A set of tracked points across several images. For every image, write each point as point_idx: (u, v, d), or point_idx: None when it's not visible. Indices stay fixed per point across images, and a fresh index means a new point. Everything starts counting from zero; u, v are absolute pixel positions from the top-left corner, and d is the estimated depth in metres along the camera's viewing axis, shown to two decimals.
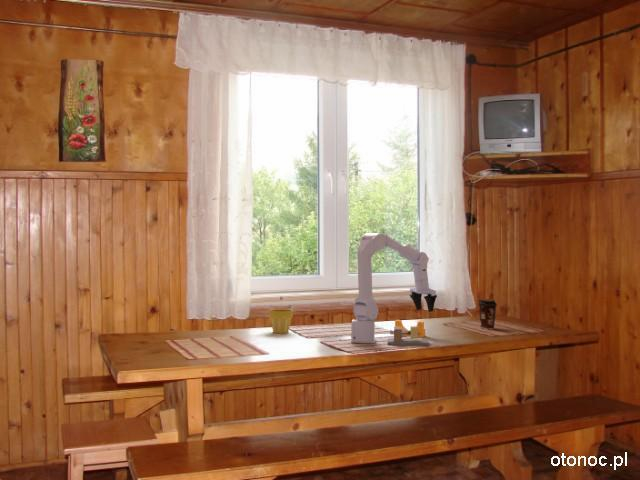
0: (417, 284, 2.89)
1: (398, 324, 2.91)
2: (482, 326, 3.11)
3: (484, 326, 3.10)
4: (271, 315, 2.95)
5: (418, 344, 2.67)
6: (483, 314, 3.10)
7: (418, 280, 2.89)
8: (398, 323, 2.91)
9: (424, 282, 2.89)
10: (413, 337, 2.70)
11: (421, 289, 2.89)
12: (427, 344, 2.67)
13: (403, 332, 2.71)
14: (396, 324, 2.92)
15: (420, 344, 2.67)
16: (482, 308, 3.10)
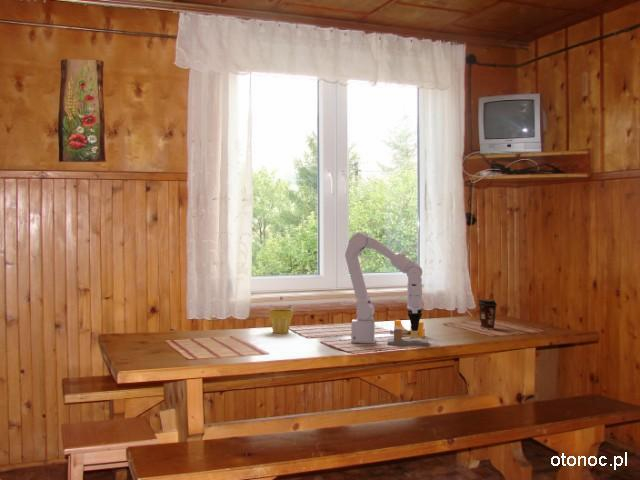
0: (407, 299, 2.71)
1: (397, 324, 2.91)
2: (482, 326, 3.11)
3: (484, 326, 3.10)
4: (271, 315, 2.95)
5: (418, 344, 2.67)
6: (483, 314, 3.10)
7: (408, 294, 2.70)
8: (397, 323, 2.91)
9: (412, 298, 2.68)
10: (413, 337, 2.70)
11: (409, 305, 2.69)
12: (427, 344, 2.67)
13: (403, 332, 2.71)
14: (395, 324, 2.91)
15: (420, 344, 2.67)
16: (482, 308, 3.10)
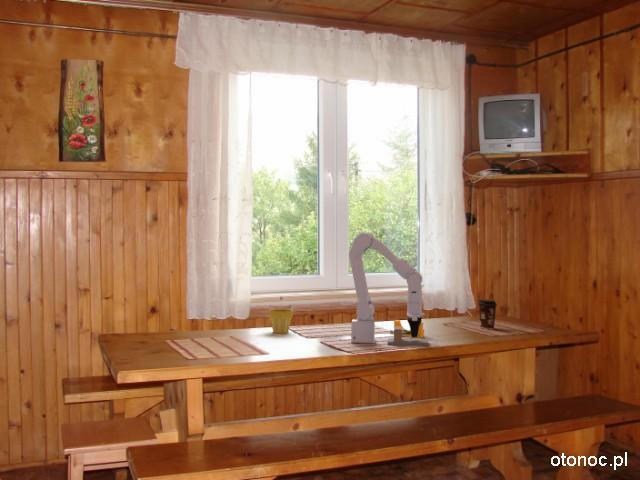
0: (407, 306, 2.71)
1: (397, 324, 2.90)
2: (482, 326, 3.11)
3: (484, 326, 3.10)
4: (271, 315, 2.95)
5: (418, 344, 2.67)
6: (483, 314, 3.10)
7: (408, 302, 2.70)
8: (397, 323, 2.90)
9: (412, 305, 2.68)
10: (413, 337, 2.70)
11: (409, 312, 2.69)
12: (427, 344, 2.67)
13: (403, 332, 2.71)
14: (395, 324, 2.91)
15: (420, 344, 2.67)
16: (482, 308, 3.10)
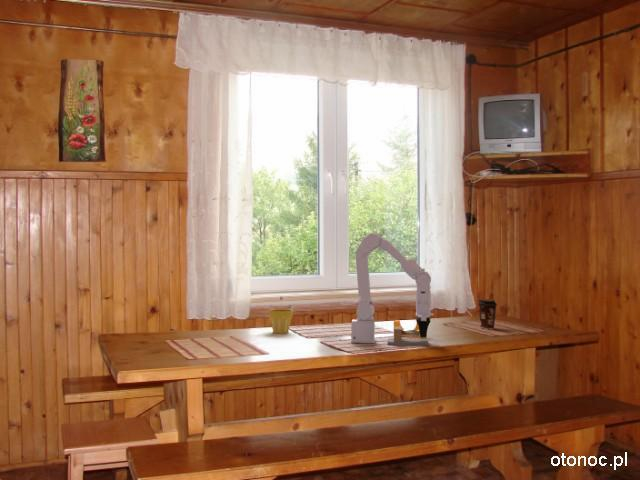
0: (416, 306, 2.70)
1: (397, 325, 2.90)
2: (482, 326, 3.11)
3: (484, 326, 3.10)
4: (271, 315, 2.95)
5: (418, 344, 2.67)
6: (483, 314, 3.10)
7: (416, 302, 2.70)
8: (397, 324, 2.90)
9: (421, 305, 2.68)
10: None
11: (417, 312, 2.69)
12: (427, 344, 2.67)
13: (412, 332, 2.70)
14: (395, 325, 2.90)
15: (420, 344, 2.67)
16: (482, 308, 3.10)
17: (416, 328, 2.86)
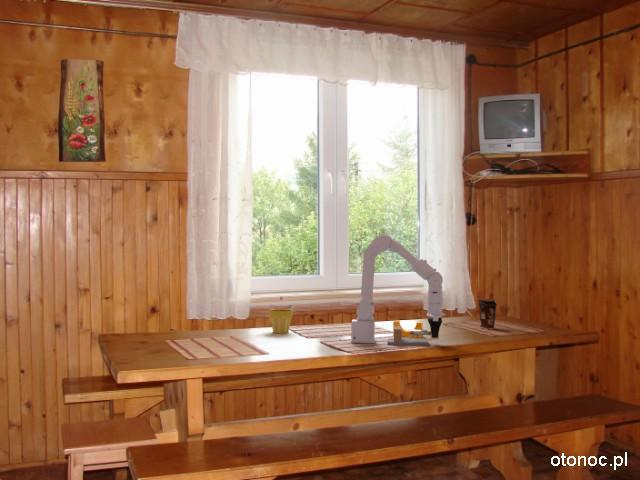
0: None
1: (396, 325, 2.89)
2: (482, 326, 3.11)
3: (484, 326, 3.10)
4: (271, 315, 2.95)
5: (418, 344, 2.67)
6: (483, 314, 3.10)
7: (428, 302, 2.69)
8: (396, 324, 2.89)
9: (433, 305, 2.67)
10: (433, 338, 2.69)
11: (429, 312, 2.68)
12: (427, 344, 2.67)
13: (423, 332, 2.70)
14: (394, 325, 2.90)
15: (420, 344, 2.67)
16: (482, 308, 3.10)
17: (416, 328, 2.86)
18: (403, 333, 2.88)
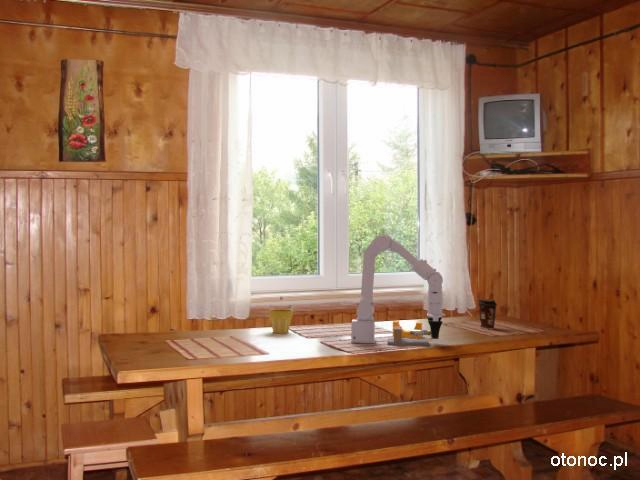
0: None
1: (396, 325, 2.88)
2: (482, 326, 3.11)
3: (484, 326, 3.10)
4: (271, 315, 2.95)
5: (418, 344, 2.67)
6: (483, 314, 3.10)
7: (428, 302, 2.69)
8: (396, 324, 2.88)
9: (433, 305, 2.67)
10: None
11: (429, 312, 2.68)
12: (427, 344, 2.67)
13: (423, 332, 2.70)
14: (394, 325, 2.89)
15: (420, 344, 2.67)
16: (482, 308, 3.10)
17: (415, 328, 2.85)
18: (403, 333, 2.87)
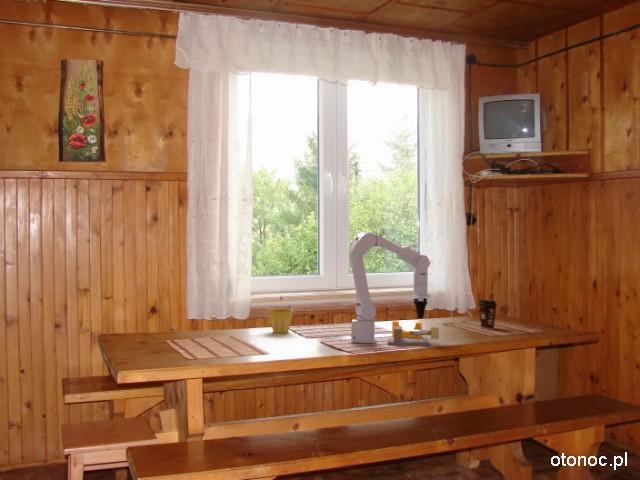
0: None
1: (395, 325, 2.88)
2: (482, 326, 3.11)
3: (484, 326, 3.10)
4: (271, 315, 2.95)
5: (418, 344, 2.67)
6: (483, 314, 3.10)
7: (414, 283, 2.80)
8: (395, 324, 2.88)
9: (418, 286, 2.78)
10: (433, 338, 2.69)
11: (415, 293, 2.79)
12: (427, 344, 2.67)
13: (423, 332, 2.70)
14: (393, 325, 2.88)
15: (420, 344, 2.67)
16: (482, 308, 3.10)
17: (415, 328, 2.85)
18: (402, 333, 2.87)
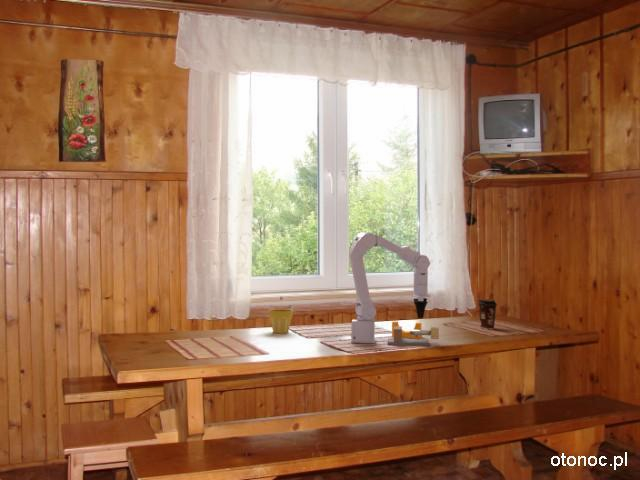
0: None
1: (395, 325, 2.87)
2: (482, 326, 3.11)
3: (484, 326, 3.10)
4: (271, 315, 2.95)
5: (418, 344, 2.67)
6: (483, 314, 3.10)
7: (414, 283, 2.80)
8: (395, 324, 2.87)
9: (418, 286, 2.78)
10: (433, 338, 2.69)
11: (415, 293, 2.79)
12: (427, 344, 2.67)
13: (423, 332, 2.70)
14: (393, 325, 2.88)
15: (420, 344, 2.67)
16: (482, 308, 3.10)
17: (415, 329, 2.84)
18: (402, 334, 2.86)
